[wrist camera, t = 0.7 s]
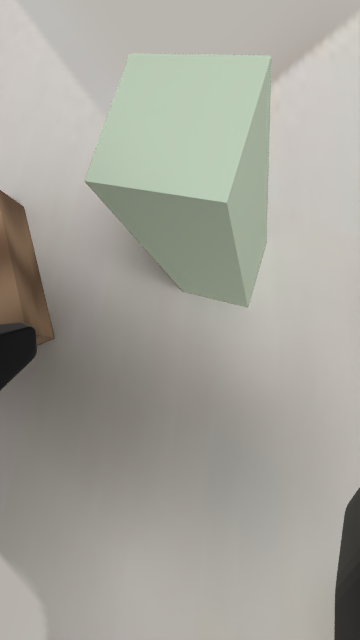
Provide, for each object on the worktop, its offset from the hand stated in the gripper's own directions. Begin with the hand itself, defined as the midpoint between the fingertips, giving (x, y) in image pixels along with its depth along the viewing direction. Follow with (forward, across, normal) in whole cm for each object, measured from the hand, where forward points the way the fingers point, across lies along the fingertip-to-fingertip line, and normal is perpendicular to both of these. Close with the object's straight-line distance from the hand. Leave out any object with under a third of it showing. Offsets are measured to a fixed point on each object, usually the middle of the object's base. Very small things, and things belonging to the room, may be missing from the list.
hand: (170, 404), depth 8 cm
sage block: (+15, +3, +1) cm, 15 cm away
